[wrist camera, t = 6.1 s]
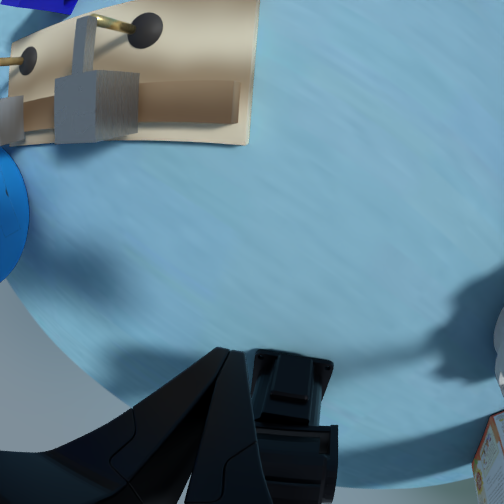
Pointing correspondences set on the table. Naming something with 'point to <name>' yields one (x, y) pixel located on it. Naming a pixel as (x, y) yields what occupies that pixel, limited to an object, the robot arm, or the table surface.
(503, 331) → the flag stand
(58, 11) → the blue cradle bracket
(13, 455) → the robot arm
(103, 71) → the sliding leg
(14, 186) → the alarm clock
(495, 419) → the cracker box
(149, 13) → the hole plate
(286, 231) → the table surface
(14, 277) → the table surface
